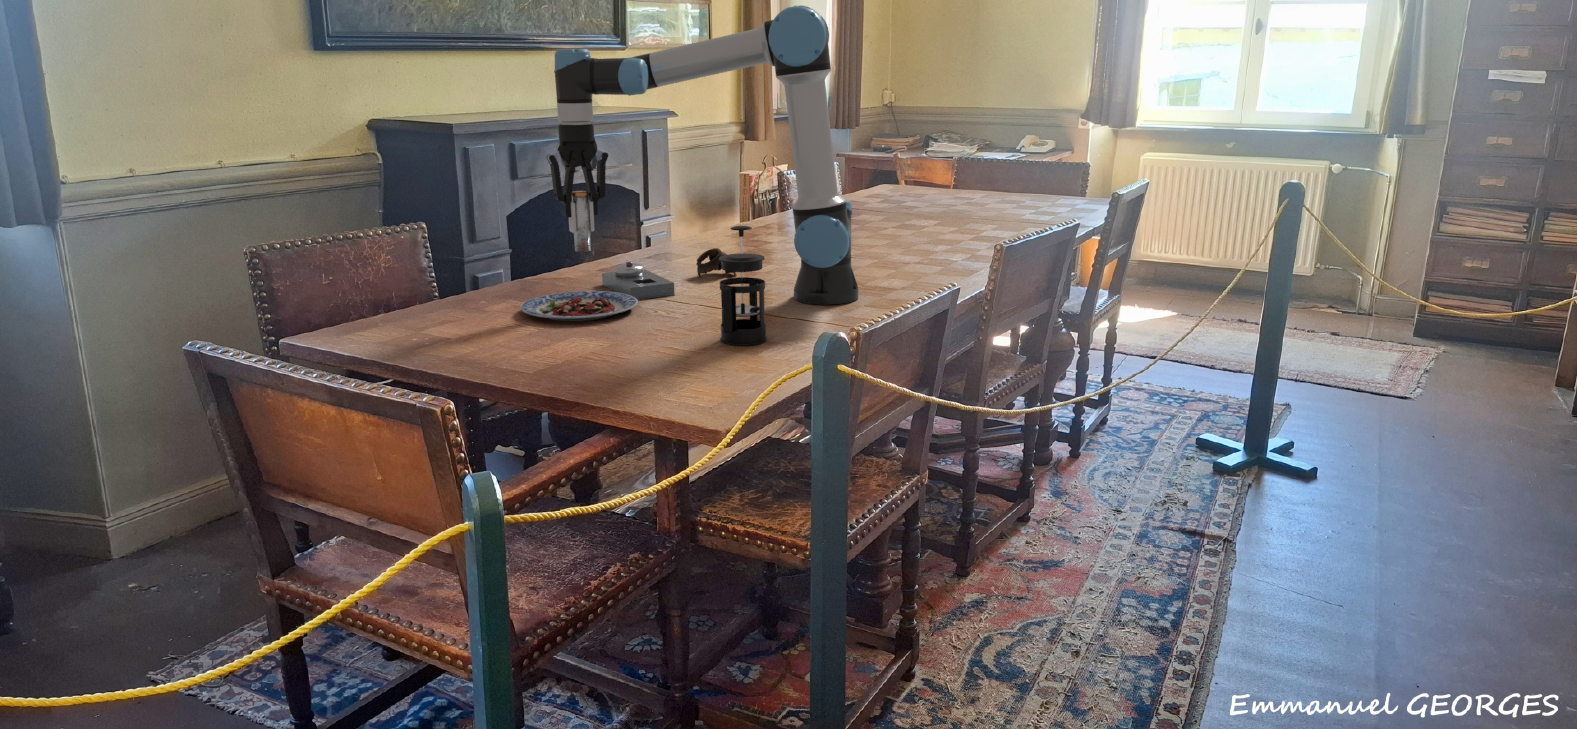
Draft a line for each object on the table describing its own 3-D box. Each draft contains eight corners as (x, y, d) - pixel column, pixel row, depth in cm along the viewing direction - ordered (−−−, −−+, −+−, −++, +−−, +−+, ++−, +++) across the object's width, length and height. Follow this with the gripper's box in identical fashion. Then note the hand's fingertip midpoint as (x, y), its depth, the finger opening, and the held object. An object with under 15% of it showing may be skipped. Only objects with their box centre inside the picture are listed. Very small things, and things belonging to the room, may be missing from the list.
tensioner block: (674, 295, 258) (673, 270, 257) (630, 300, 253) (629, 275, 252) (644, 280, 275) (642, 256, 273) (602, 284, 270) (601, 261, 268)
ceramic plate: (655, 303, 251) (655, 290, 251) (608, 330, 228) (608, 316, 227) (555, 297, 258) (554, 285, 257) (499, 323, 234) (498, 309, 233)
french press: (736, 331, 224) (733, 220, 218) (776, 336, 220) (775, 223, 214) (707, 345, 214) (703, 229, 208) (748, 350, 210) (746, 232, 204)
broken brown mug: (740, 280, 276) (726, 255, 272) (708, 297, 277) (692, 272, 273) (736, 260, 286) (721, 235, 282) (704, 276, 287) (689, 251, 283)
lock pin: (593, 250, 241) (589, 192, 237) (577, 252, 240) (574, 193, 236) (588, 248, 244) (584, 190, 240) (573, 249, 242) (569, 191, 239)
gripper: (606, 120, 241) (611, 225, 247) (533, 123, 233) (540, 231, 240) (618, 122, 235) (623, 230, 241) (543, 125, 227) (550, 236, 234)
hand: (582, 230), depth 241 cm, fingers closed on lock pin, 3 cm apart
